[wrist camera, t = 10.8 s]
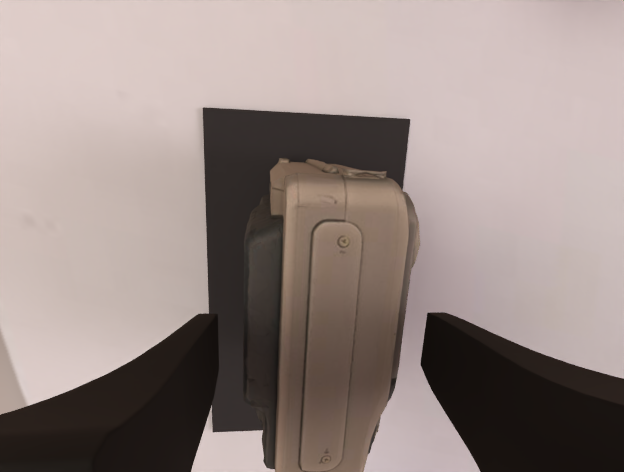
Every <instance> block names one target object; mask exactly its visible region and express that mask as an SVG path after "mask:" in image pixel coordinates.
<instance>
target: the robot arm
mask: <svg viewBox="0 0 624 472" xmlns="http://www.w3.org/2000/svg"><path fill="white" fill-rule="evenodd" d="M421 367H422V369H423V371H424V374H425V376H426V379H427V381H428V383H429V385H430V387H431V389H432V391H433V393H434V395H435V396H436V398H437V400H438V401H439V403H440V404H441V406H442V408H443V409H444V411H445V413H446V414H447V416H448V417H449V419H450V421H451V422H452V424H453V425H454V427H455V429H456V430H457V432H458V433H459V435H460V437H461V438H462V440H463V441H464V443H465V445H466V446H467V448H468V449H469V451H470V453H471V455H472V456H473V458H474V460H475V462H476V463H477V465H478V467H479V469H480V471H481V472H624V379H622V378H618V377H614V376H610V375H607V374H603V373H599V372H596V371H592V370H589V369H585V368H582V367H579V366H575V365H572V364H569V363H566V362H563V361H560V360H557V359H555V358H552V357H549V356H546V355H543V354H541V353H538V352H535V351H533V350H530V349H528V348H526V347H523V346H521V345H518V344H516V343H514V342H511V341H509V340H507V339H504V338H502V337H500V336H498V335H496V334H493V333H491V332H489V331H487V330H485V329H483V328H480V327H478V326H476V325H474V324H472V323H470V322H467V321H465V320H463V319H460V318H458V317H456V316H453V315H450V314H447V313H427V321H426V328H425V335H424V343H423V350H422V357H421ZM218 372H219V343H218V314H198V315H196V316H195V317H194V318H192V319H191V320H190V321H188V322H187V323H186V324H184V325H183V326H182V327H180V328H179V329H178V330H176V331H175V332H174V333H172V334H171V335H170V336H168V337H167V338H166V339H164V340H163V341H161V342H160V343H158V344H157V345H155V346H154V347H152V348H151V349H149V350H148V351H146V352H145V353H143V354H142V355H140V356H139V357H137V358H136V359H134V360H132V361H130V362H129V363H127V364H125V365H123V366H121V367H120V368H118V369H116V370H114V371H112V372H110V373H108V374H106V375H104V376H102V377H100V378H97V379H95V380H93V381H91V382H89V383H86V384H84V385H82V386H80V387H77V388H75V389H73V390H70V391H68V392H66V393H63V394H60V395H58V396H55V397H52V398H50V399H47V400H44V401H41V402H38V403H36V404H33V405H30V406H27V407H24V408H21V409H18V410H15V411H12V412H8V413H4V414H1V415H0V472H191V469H192V465H193V462H194V459H195V456H196V452H197V449H198V446H199V443H200V440H201V437H202V434H203V430H204V427H205V424H206V421H207V418H208V415H209V411H210V408H211V405H212V402H213V398H214V394H215V389H216V384H217V378H218Z"/></svg>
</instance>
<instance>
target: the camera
mask: <svg viewBox="0 0 624 472" xmlns="http://www.w3.org/2000/svg"><path fill="white" fill-rule="evenodd" d="M386 172H387V171H382V172H378V171H364V170H358V169H354V168H350V167H346V166H342V165H338V164H326V163H324V162H321V161H318V160H312V159H307V160H306V161H305V162H290V160H289V159H287V158H280V159H279V162H278V164H276V165H275V166H274V167H273V168H272V169H271V170H270V184H269V191H270V194H269V195H264V196H263V197H262V198H261V201H260V205H259V206H257V207H256V208H254V210H253V211H252V212H251V214H250V219H249V221H248V224H247V230H246V233H245V239H244V325H243V400H244V401H245V402H246V403H247V404H250V405H251V407H252V408H254V409H256V413H257V416H258V419H259V421H260V425H261V426H262V427H263V435H262V443H263V451H264V463H265V465H266V467H267V468H270V469H275V472H363V471H364V467H365V463H366V460H367V456H368V454H369V453H370V449H371V445H372V443H373V441H374V438H375V435H376V432H378V428H379V423H380V416H381V414H382V412H383V411H384V409H385V407H386V405H387V402H388V401H389V400H390V398H391V396H392V394H393V391H394V388H395V384H396V379H397V373H398V367H399V360H400V351H401V343H402V335H403V327H404V319H405V312H406V304H407V296H408V289H409V281H410V274H411V268H412V267H413V265H414V263H415V260H416V257H417V254H418V250H419V246H420V238H419V222H418V218H417V215H416V213H415V208H414V205H413V203H412V201H411V199H410V197H409V196H408V194H407V193H406V192H403V191H402V190H401V188H400V186H399V185H398V184H397V183H396V182H395V181H394V180H393V179H390V178H387V177H386Z"/></svg>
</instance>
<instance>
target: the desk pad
mask: <svg viewBox="0 0 624 472" xmlns="http://www.w3.org/2000/svg"><path fill="white" fill-rule="evenodd" d="M409 124H410V119H396V118H379V117H361V116H343V115H325V114H308V113H290V112H272V111H255V110H237V109H219V108H203V126H204V159H205V192H206V225H207V258H208V290H209V314H218V343H219V372H218V378H217V384H216V389H215V394H214V398H213V402H212V422H213V432H228V431H253V430H263V427H262V426H261V425H260V421H259V419H258V416H257V413H256V409H254V408H252V407H251V405H250V404H247V403H246V402H245V401H244V400H243V325H244V239H245V233H246V230H247V224H248V221H249V219H250V214H251V212H252V211H253V210H254V208H256V207H257V206H259V205H260V201H261V198H262V197H263V196H264V195H269V194H270V191H269V184H270V170H271V169H272V168H273V167H274V166H275V165H276V164H278V162H279V159H280V158H287V159H289V160H290V162H305V161H306V160H307V159H312V160H318V161H321V162H324V163H326V164H338V165H342V166H346V167H350V168H354V169H358V170H364V171H378V172H382V171H387V172H386V177H387V178H390V179H393V180H394V181H395V182H396V183H397V184H398V185H399V186H400V188H401V190H402V189H403V180H404V170H405V161H406V152H407V143H408V133H409Z"/></svg>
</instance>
